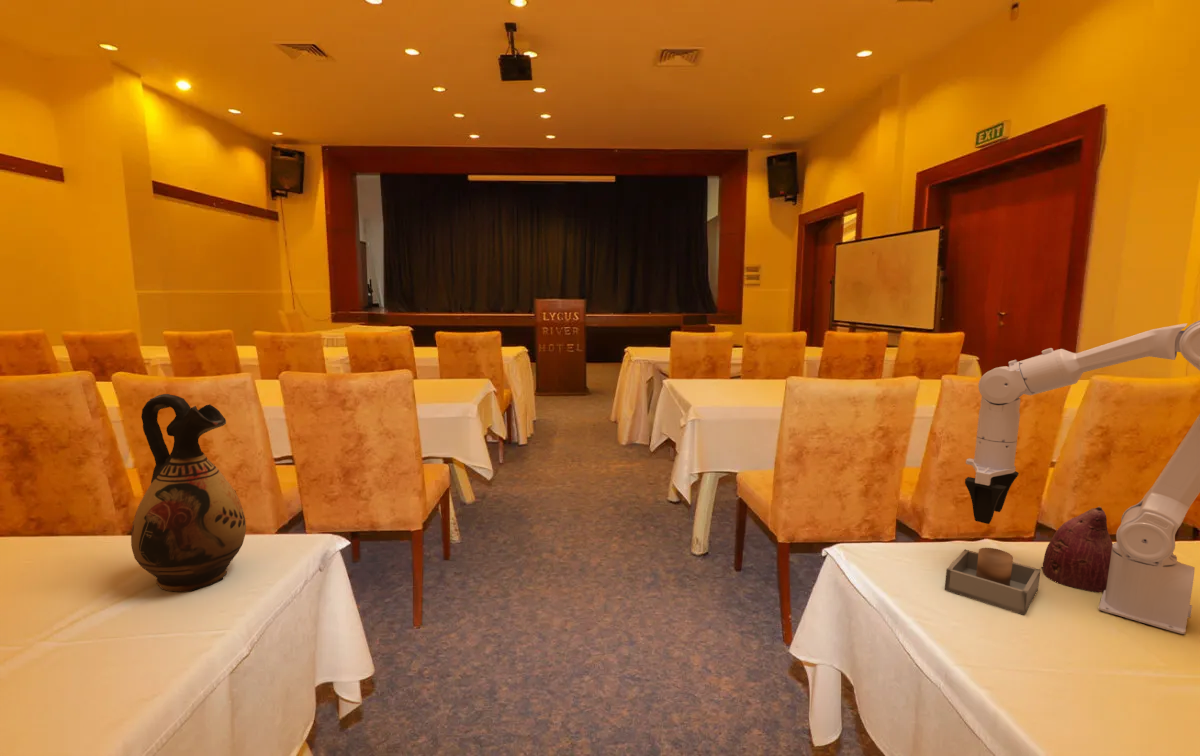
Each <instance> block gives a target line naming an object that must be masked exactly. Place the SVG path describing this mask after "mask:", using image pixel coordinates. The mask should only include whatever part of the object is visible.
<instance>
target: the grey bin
mask: <svg viewBox="0 0 1200 756" xmlns="http://www.w3.org/2000/svg"><path fill="white" fill-rule="evenodd" d="M978 554H979V552H977V551H973V550H969V549H964V550H962V552H961V553H960V554H959V555H958V556H957V557H956V558H955V559H954V561H952V563H951V564H950V565H949V566H948V567H947V568H946V571H945V580H944V581H945V582H944V591H947V592H950V593H953V594H956V595H960V596H962V597H965V598H968V599H973V600H976V601H979V602H981V603H985V604H987V605H991V606H994V607H998V608H1001V609H1003V610H1007V611H1011V612H1013V613H1015V614H1016V613H1017V614H1019V615H1023V616H1025V615H1026V614H1027V611H1028V609H1029V607H1030V605H1031V604H1032V602H1033V601H1034V598H1035V597H1034V596H1036V595H1035V594H1037V593H1038V591H1039V586H1040V585H1039V584H1040V576H1041V569H1040V568H1036V567H1032V566H1030V565H1029V566H1028V565H1025V564H1021V563H1018V562H1014V561H1013V563H1012V572H1011V580H1010V586H1007V585H1004V584H1000V583H997V582H993V581H990V580H987V579H983V578H980V577H976V572H977V563H978ZM1036 592H1037V593H1036Z"/></svg>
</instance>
